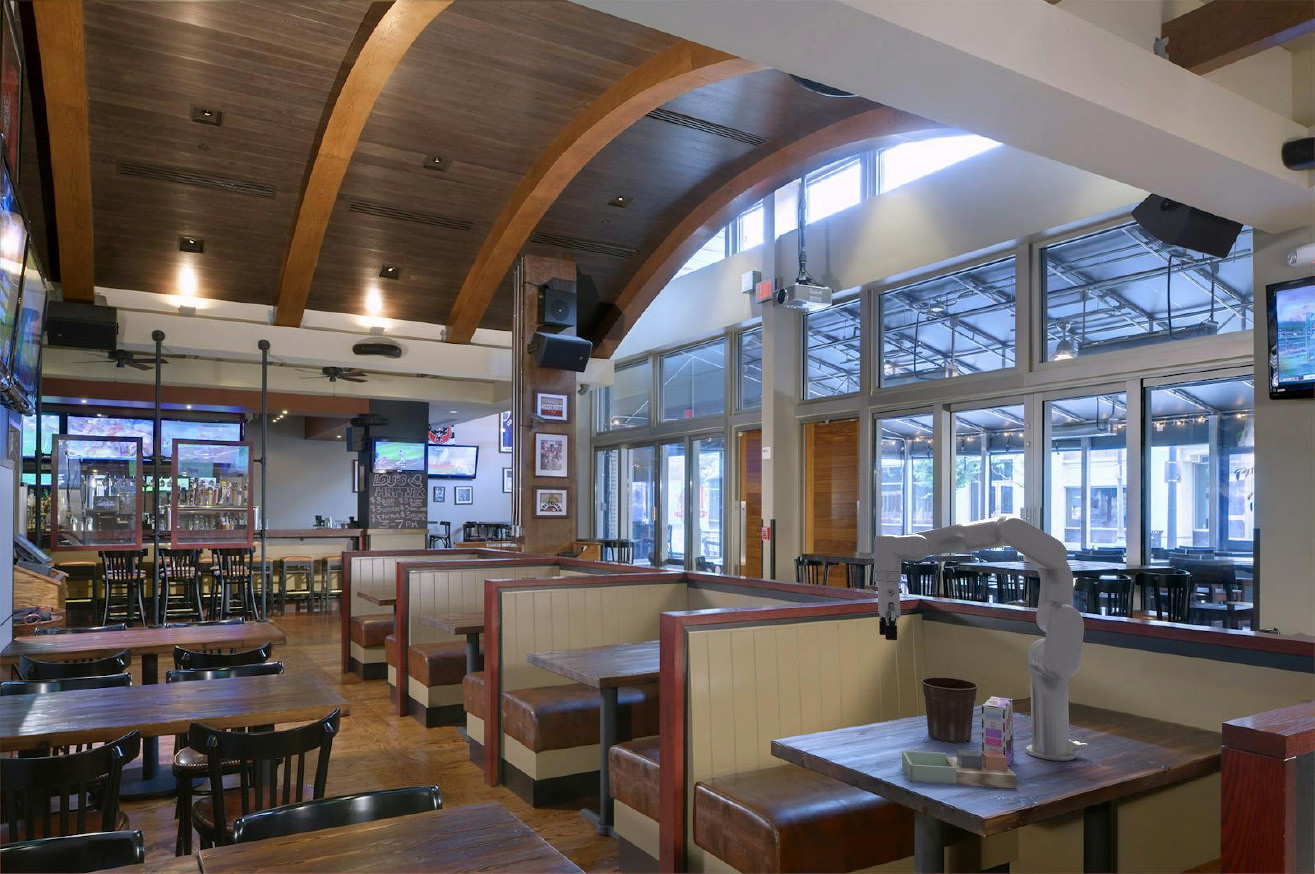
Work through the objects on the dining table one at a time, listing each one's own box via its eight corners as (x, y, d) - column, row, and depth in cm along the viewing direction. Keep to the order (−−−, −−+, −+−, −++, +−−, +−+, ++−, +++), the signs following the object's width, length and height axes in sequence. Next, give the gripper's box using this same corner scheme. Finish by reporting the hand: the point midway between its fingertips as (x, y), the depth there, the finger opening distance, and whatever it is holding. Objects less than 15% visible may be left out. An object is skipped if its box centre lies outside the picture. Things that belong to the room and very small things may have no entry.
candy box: (1005, 772, 217) (1004, 707, 218) (981, 768, 220) (980, 704, 221) (1014, 759, 229) (1013, 697, 230) (991, 755, 232) (990, 694, 233)
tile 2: (1001, 764, 214) (1001, 751, 214) (1007, 770, 209) (1006, 757, 209) (981, 762, 215) (981, 750, 215) (986, 768, 210) (986, 756, 210)
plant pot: (987, 746, 242) (986, 688, 243) (930, 744, 242) (930, 687, 243) (967, 731, 258) (967, 677, 259) (914, 729, 258) (914, 676, 259)
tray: (945, 768, 219) (945, 752, 220) (956, 784, 206) (956, 767, 207) (902, 765, 221) (902, 750, 221) (910, 781, 208) (910, 765, 208)
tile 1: (977, 762, 215) (976, 750, 215) (982, 768, 210) (981, 756, 210) (956, 761, 215) (956, 749, 216) (961, 767, 210) (961, 755, 211)
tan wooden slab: (1001, 771, 217) (1001, 759, 218) (1016, 787, 205) (1015, 775, 205) (945, 768, 219) (945, 756, 220) (956, 784, 206) (956, 771, 207)
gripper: (907, 579, 234) (907, 642, 233) (895, 575, 251) (895, 633, 250) (879, 579, 235) (880, 641, 233) (869, 574, 252) (870, 632, 250)
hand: (888, 637), depth 241 cm, fingers open, 9 cm apart
